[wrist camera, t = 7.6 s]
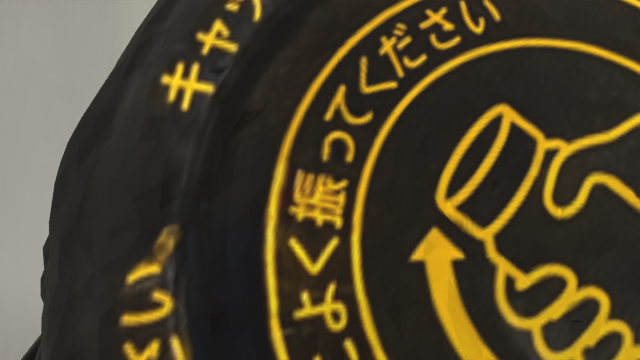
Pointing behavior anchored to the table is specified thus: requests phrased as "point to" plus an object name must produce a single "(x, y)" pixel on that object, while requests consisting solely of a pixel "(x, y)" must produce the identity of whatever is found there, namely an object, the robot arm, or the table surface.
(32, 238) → the table surface
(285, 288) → the condiment
